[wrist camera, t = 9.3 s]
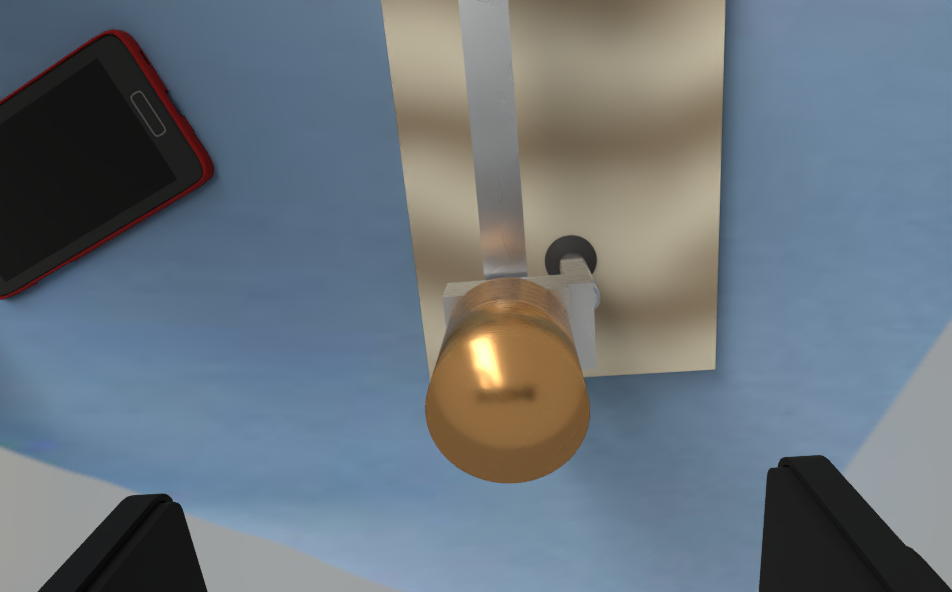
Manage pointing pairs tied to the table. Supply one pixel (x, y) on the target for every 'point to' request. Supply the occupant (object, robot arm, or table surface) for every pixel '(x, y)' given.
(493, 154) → the frame
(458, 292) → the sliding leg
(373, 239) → the table surface
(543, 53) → the hole plate
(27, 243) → the cell phone
